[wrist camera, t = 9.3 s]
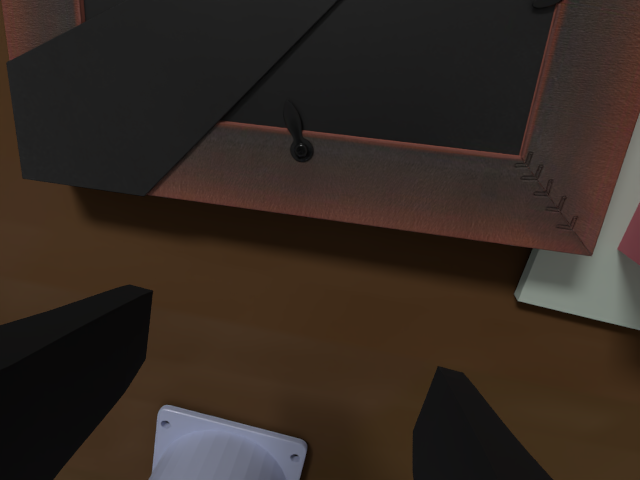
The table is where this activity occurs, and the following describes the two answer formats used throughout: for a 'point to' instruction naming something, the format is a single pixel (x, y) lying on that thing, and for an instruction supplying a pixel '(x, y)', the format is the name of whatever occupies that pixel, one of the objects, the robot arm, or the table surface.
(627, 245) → the card box
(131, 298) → the robot arm
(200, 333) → the table surface
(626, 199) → the sage mat
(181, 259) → the table surface
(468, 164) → the picture frame
